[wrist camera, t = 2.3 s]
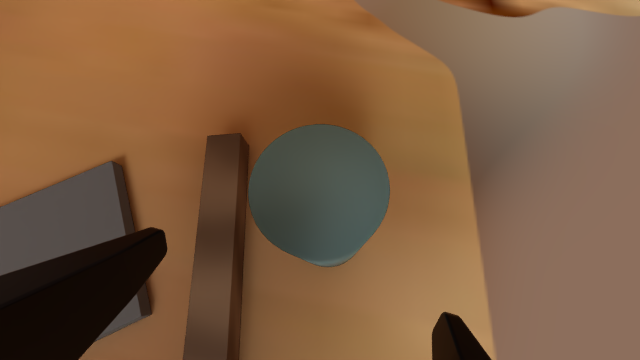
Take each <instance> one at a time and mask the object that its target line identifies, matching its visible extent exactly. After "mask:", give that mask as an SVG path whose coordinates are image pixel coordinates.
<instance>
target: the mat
mask: <svg viewBox="0 0 640 360" xmlns="http://www.w3.org/2000/svg"><path fill="white" fill-rule="evenodd" d="M134 232H135V230H134V225H133V220H132V215H131V210H130V205H129V200H128V195H127V190H126V185H125V181H124V176H123V171H122V166H121V165H119V164H117V163H115V162H113V161H110V162H108V163H105V164H103V165H100V166H98V167H96V168H93V169H91V170H88V171H86V172H84V173H81V174H79V175H76V176H74V177H72V178H69V179H67V180H64V181H62V182H60V183H57V184H55V185H52V186H50V187H48V188H45V189H43V190H40V191H38V192H36V193H33V194H31V195H28V196H26V197H24V198H21V199H19V200H17V201H14V202H12V203H9V204H7V205H5V206H2V207H0V275H4V274H7V273H10V272H13V271H16V270H19V269H22V268H25V267H28V266H32V265H35V264H38V263H41V262H44V261H47V260H50V259H53V258H56V257H60V256H63V255H66V254H69V253H72V252H75V251H78V250H81V249H84V248H88V247H91V246H94V245H97V244H100V243H103V242H106V241H109V240H112V239H116V238H119V237H122V236H125V235H128V234H131V233H134ZM149 315H151V309H150V304H149V299H148V294H147V289H146V284H145V283H144V285H143V286H142V287H141V289H140V290H139V291H138V293H137V294H136V295H135V296H134V298H133V299H132V300H131V301H130V302H129V303H128V305H127V306H126V307H125V308H124V309H123V310H122V311H121V312H120V313H119V315H118V316H117V317H116V318H115V319H114V320H113V321H112V322H111V324H110V325H109V326H108V327H107V328H106V329H105V330H104V331H103V332H102V334H101V335H100V336H99V337H98V338H97V339H96V340H95V341H97V340H99V339H101V338H103V337H105V336H107V335H110V334H112V333H114V332H116V331H118V330H120V329H122V328H124V327H126V326H128V325H130V324H132V323H135V322H137V321H139V320H141V319H143V318H145V317H147V316H149ZM95 341H94V342H95Z"/></svg>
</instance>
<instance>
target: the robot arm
mask: <svg viewBox="0 0 640 360" xmlns="http://www.w3.org/2000/svg"><path fill="white" fill-rule="evenodd" d="M166 253H167V243H166V237H165V232H164V231H163V230H161V229H157V228H154V227H150V228H147V229H144V230H140V231H137V232H134V233H131V234H128V235H125V236H122V237H119V238H116V239H112V240H109V241H106V242H103V243H100V244H97V245H94V246H91V247H88V248H84V249H81V250H78V251H75V252H72V253H69V254H66V255H63V256H60V257H56V258H53V259H50V260H47V261H44V262H41V263H38V264H35V265H32V266H28V267H25V268H22V269H19V270H16V271H13V272H10V273H7V274H4V275H0V360H78V359H79V358H80V357H81V356H82V355H83V354H84V353H85V351H86V350H87V349H88V348H89V347H90V346H91V345H92V344H93V343H94V341H95V340H96V339H97V338H98V337H99V336H100V335H101V334H102V332H103V331H104V330H105V329H106V328H107V327H108V326H109V325H110V324H111V322H112V321H113V320H114V319H115V318H116V317H117V316H118V315H119V313H120V312H121V311H122V310H123V309H124V308H125V307H126V306H127V305H128V303H129V302H130V301H131V300H132V299H133V298H134V296H135V295H136V294H137V293H138V291H139V290H140V289H141V287H142V286H143V285H144V283H145V282H146V281H147V279H148V278H149V277H150V275H151V274H152V273H153V271H154V270H155V269H156V267H157V266H158V265H159V263H160V262H161V261H162V259H163V258H164V257H165V255H166ZM432 360H491V358H490V357H489V356H488V354H487V353H486V352H485V350H484V349H483V347H482V346H481V345H480V343H479V342H478V341H477V339H476V338H475V337H474V335H473V334H472V333H471V331H470V330H469V328H468V327H467V326H466V324H465V323H464V322H463V320H462V319H461V318H460V317H459V316H457V315H454V314H451V313H448V312H443V313H442V314H441V316H440V317H439V319H438V321H437V323H436V325H435V327H434V329H433V332H432Z"/></svg>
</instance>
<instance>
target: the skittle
mask: <svg viewBox="0 0 640 360" xmlns="http://www.w3.org/2000/svg"><path fill="white" fill-rule="evenodd" d="M389 195H390V185H389V178H388V173H387V170H386V167H385V165H384V163H383V161H382V159H381V157H380V156H379V154H378V153H377V151H376V150H375V149H374V148H373V147H372V146H371V144H370V143H368V142H367V141H366V140H365V139H364V138H362V137H361V136H359V135H358V134H356V133H354V132H352V131H350V130H348V129H345V128H342V127H338V126H334V125H326V124H315V125H307V126H303V127H299V128H296V129H293V130H291V131H289V132H287V133H285V134H283V135H281V136H280V137H278V138H277V139H276V140H274V141H273V142H272V143H271V144H270V145H269V146H268V147H267V148H266V149H265V150H264V151H263V153H262V154H261V155H260V157H259V158H258V160H257V162H256V164H255V166H254V168H253V171H252V173H251V177H250V181H249V189H248V198H249V205H250V209H251V213H252V216H253V218H254V220H255V223H256V225H257V226H258V228H259V229H260V231H261V232H262V233H263V235H264V236H265V237H266V238H267V239H268V240H269V241H270V242H271V243H273V244H274V245H275V246H277V247H278V248H280V249H281V250H283V251H285V252H287V253H289V254H291V255H294V256H296V257H298V258H301V259H303V260H305V261H308V262H310V263H312V264H315V265H318V266H322V267H334V266H338V265H341V264H343V263H345V262H347V261H348V260H349V259H351V258H352V257H353V256H354V255H355V254H356V252H357V251H358V250H359V249H360V248H361V247H362V246H363V245H364V244H365V243H366V241H367V240H368V239H369V238H370V237H371V236H372V235H373V234H374V233H375V231H376V230H377V228H378V227H379V226H380V224H381V222H382V220H383V218H384V216H385V213H386V211H387V207H388V203H389Z"/></svg>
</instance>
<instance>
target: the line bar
mask: <svg viewBox="0 0 640 360" xmlns="http://www.w3.org/2000/svg"><path fill="white" fill-rule="evenodd" d="M248 155H249V145H248V144H247V142H246V141H245V139H244V138H243V136H242V135H241V133H237V134H224V135H211V136H207V145H206V154H205V163H204V173H203V182H202V191H201V200H200V209H199V218H198V227H197V236H196V245H195V254H194V264H193V273H192V282H191V291H190V300H189V309H188V318H187V327H186V336H185V345H184V355H183V360H239V344H240V323H241V302H242V281H243V260H244V239H245V218H246V197H247V176H248Z"/></svg>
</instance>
